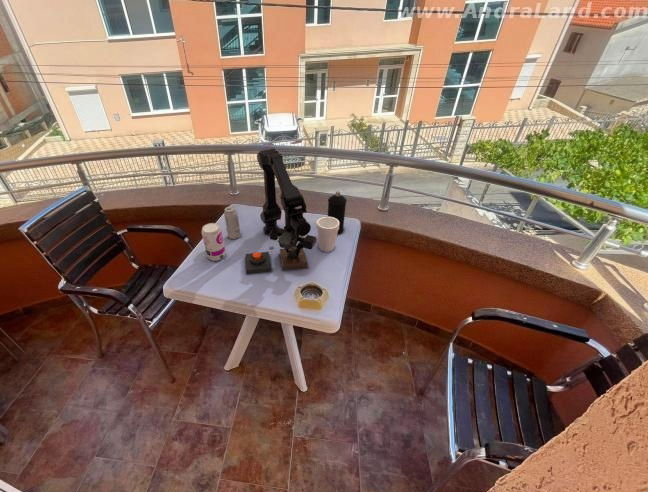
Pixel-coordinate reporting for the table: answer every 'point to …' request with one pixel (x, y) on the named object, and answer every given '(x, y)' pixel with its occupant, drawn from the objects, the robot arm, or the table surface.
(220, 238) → the supplement can
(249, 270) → the push button box
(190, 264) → the table surface
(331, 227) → the foam cup
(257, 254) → the power button
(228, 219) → the energy drink can
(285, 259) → the dial panel
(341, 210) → the aerosol can
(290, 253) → the dial
